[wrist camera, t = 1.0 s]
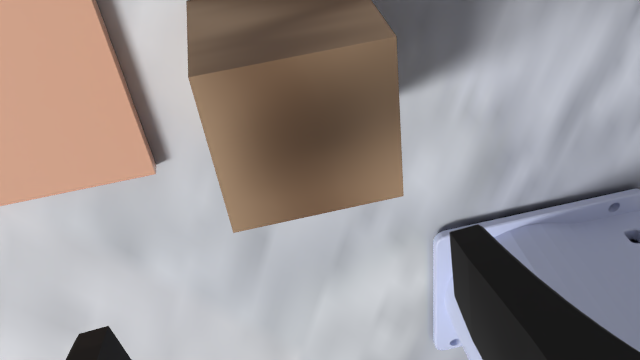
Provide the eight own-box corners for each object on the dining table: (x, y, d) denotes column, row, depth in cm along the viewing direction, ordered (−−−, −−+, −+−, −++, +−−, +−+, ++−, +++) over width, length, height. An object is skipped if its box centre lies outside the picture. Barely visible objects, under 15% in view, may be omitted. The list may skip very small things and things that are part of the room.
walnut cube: (349, -31, 18) (396, 36, 14) (362, 109, 21) (403, 195, 17) (186, 0, 18) (188, 77, 14) (223, 137, 21) (233, 232, 17)
